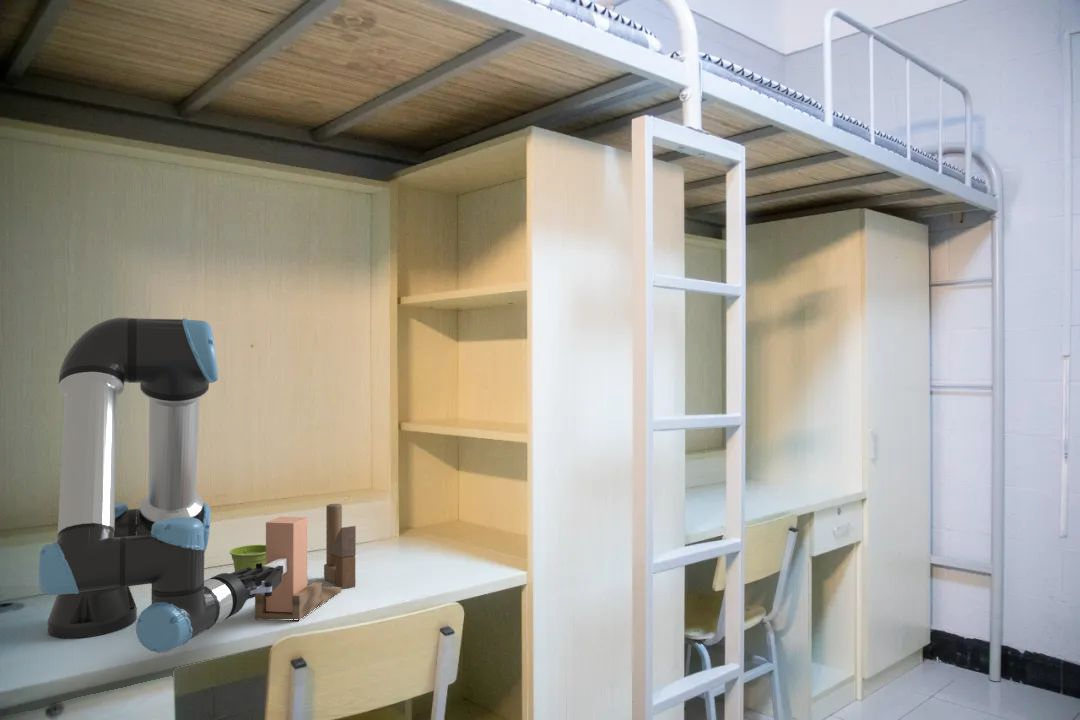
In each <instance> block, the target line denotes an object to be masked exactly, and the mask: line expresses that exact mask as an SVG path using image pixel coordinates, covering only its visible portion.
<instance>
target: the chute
mask: <svg viewBox="0 0 1080 720" xmlns="http://www.w3.org/2000/svg"><path fill="white" fill-rule="evenodd" d="M322 584H323V583H322V581H314V582H312V583H311V584H309V585H307V587H306V588H304V589H303V590H301V591H299V592H298V593H296V594H294V595H293V596H292V613H291V612H271V611H266V596H265V595H262V593H257V595H256V596H255V597H254V619H255V620H269V619H293V620H294V619H298V620H300V619H301V618H303V617H304V616H306V615H307V614H309V613H310V612H311V611H313V610H314V609H315V608H317V607H318V606H320V605H322V604H323V603H325V602H326V601H327V602H329V601H330V600H331V598H332V597H333V598H335V597H334V596H335V595H336V596H338V595H339V594H340V593H341V592H342V589H341V587H337V586H323V585H322ZM338 593H339V594H338ZM333 598H332V599H333ZM329 599H330V600H329ZM328 600H329V601H328ZM327 602H326V603H327ZM326 603H325V604H326ZM323 605H324V604H323ZM323 605H322V606H323ZM320 607H321V606H320ZM317 609H318V608H317ZM313 612H314V611H313ZM310 614H311V613H310ZM310 614H309V615H310ZM307 616H308V615H307ZM307 616H306V617H307ZM303 619H304V618H303ZM300 621H301V620H300Z"/></svg>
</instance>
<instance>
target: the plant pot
mask: <svg viewBox="0 0 1080 720" xmlns="http://www.w3.org/2000/svg"><path fill="white" fill-rule="evenodd" d="M229 555H230V556H231V559H232V561H233V568H234V572H236V571H239V570H242V569H245V568H248V567H250V568H252V569H254V568H256V564H257V563H262V567H263V566H265V565H266V544H249V545H248V544H247V545H241V546H237V547H234V548H231V549H230V550H229Z"/></svg>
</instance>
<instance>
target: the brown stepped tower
mask: <svg viewBox="0 0 1080 720" xmlns="http://www.w3.org/2000/svg"><path fill="white" fill-rule="evenodd" d="M325 509H326V512H325V513H326V515H325V517H326V526H325V528H326V530H325V531H326V543H325V545H326V549H325V550H326V552H325V553H326V561H325V562H326V563H325V564H324V565H323V579H324V580H325V581H327V582H329V583H331V584H332V585H335V587H341V590H344V589H345V588H346V589H351V588H355V587H356V545H357V544H356V540H357V539H356V533H357V532H356V531H357V530H356V529H357V526H356V525H352V526H344V527H343V506H342V504H341V503H329V504H326V508H325ZM346 589H345V590H346Z"/></svg>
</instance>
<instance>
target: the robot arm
mask: <svg viewBox="0 0 1080 720" xmlns="http://www.w3.org/2000/svg"><path fill="white" fill-rule="evenodd" d="M214 340H215V338H214V334H213V328H212V326H211V325H210V324H209V322H207V321H204V320H196V319H195V320H194V319H187V318H182V319H181V318H177V319H175V318H174V319H173V318H139V317H138V318H135V317H134V318H131V317H130V318H129V317H115V318H110V319H106V320H103V321H102V322H98V323H97V324H95V325H93V326H91V327H90V328H89V329H88V330H86V331H85V332H83V333H82V335H80V336H79V338H78V339H77V340H76V341H75V342H74V343H73V344H72V346H71V347H70V348H69V350H68V352H67V354H66V355H65V357H64V359H63V361H62V364H61V366H60V371H59V374H58V375H59V376H58V391H59V393H60V394H61V395H62V396H63V397H64V398H65V399H64V412H63V413H64V415H63V433H62V434H63V435H62V447H61V448H62V450H61V451H62V452H61V453H62V454H61V469H60V486H59V487H60V488H59V501H58V503H59V505H58V506H59V507H58V521H57V523H58V524H57V525H58V526H57V538H56V541H54V542H52V543H47V544H45V545H43V546H42V547H41V549H40V553H39V560H38V584H39V585H38V586H39V590H40V591H41V592H42V594H45V595H47V596H53V595H56V597H55V600H54V602H53V606H52V608H51V610H50V611H51V612H50V613H49V617H48V619H47V633H48V635H50V636H52V637H56V638H63V639H64V638H66V639H67V638H68V639H70V638H71V639H73V638H76V639H77V638H87V637H92V636H99V635H104V634H109V633H111V632H115V631H118V630H121V629H124V628H127V627H128V626H131V625H132V624H133V623H135V622H136V625H135V632H136V636H137V639H138V641H139V642H140V644H141V645H142V646H143V647H144V648H145V649H146V650H149V651H151V652H154V653H167V652H169V651H171V650H173V649H176V648H178V647H181V646H182V645H183V646H184V645H186V644H187V643H189V641H191V640H192V639H194V638H195V637H196V636H198V635H201V634H202V633H206V632H208V630H209V629H211V628H213V627H214V626H216V625H218V624H219V623H221V622H223V621H225V620H227V619H229V618H230V617H232V616H234V615H236V614H237V613H239V612H240V611H241V610H242V609H243V608H244V606H245V604H246V603H247V601H248V600H250V599H253V598H255V596H256V595H257V593H262V595H265V596H266V597H270V596H272V591H273V590H274V589H275V588H276V587H277V586H278V585H279V584H280V583H281V582H282V574H284V573H285V572H287V558H279V559H277V560H275V561H273V562H271V563H269V564H267V565H265V566H263V567H262V563H257V564H256V568H254V569H252V568H250V567H248V568H245V569H242V570H239V571H236V572H235V571H233V572H230V573H228V572H223V573H219V574H216V575H215V576H212V577H210V578H208V579H205V552H206V550H207V547H208V543H209V537H210V527H211V507H210V505H209V504H208V503H205V502H204V500H203V498H202V496H201V495H200V494H199V493H198V492H197V488H196V487H197V471H198V470H197V469H198V465H197V464H198V448H199V446H198V443H199V423H200V422H199V421H200V401H201V400H200V399H201V398H202V397H204V396H205V395H206V394H207V393H208V392H209V390H210V389H209V388H210V384H213V383H215V382H218V379H219V377H218V363H217V355H216V347H215V341H214ZM125 383H130V384H132V383H133V384H135V383H137V384H139V383H140V391H141V393H142V394H143V395H144V396H145V397H147V398H149V399H148V400H149V405H148V406H149V407H148V409H149V410H148V411H149V412H148V413H149V415H148V416H149V417H148V419H149V420H148V424H149V425H148V487H147V488H148V492H147V495H146V496H145V497H143V498H142V499H141V502H140V504H139V508H131V509H129V506H128V504H127V502H123V501H118V502H116V477H117V476H116V472H117V471H116V465H117V462H116V461H117V459H116V458H117V422H118V421H117V420H118V419H117V418H118V417H117V416H118V414H117V412H118V397H119V396H121V395H122V393H124V389H125V387H124V386H125ZM143 585H151V604H150V605H149V606H147V607H146V608H144V609H143V610H142V611H141V612H140V615H139V617H138V616H137V615H138V612H137V610H138V608H137V604H136V602H135V599H134V597H133V594H132V592H131V588H130V587H134V586H143ZM137 618H138V619H137Z"/></svg>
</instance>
